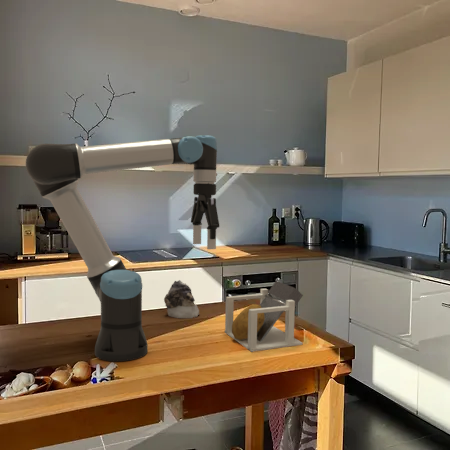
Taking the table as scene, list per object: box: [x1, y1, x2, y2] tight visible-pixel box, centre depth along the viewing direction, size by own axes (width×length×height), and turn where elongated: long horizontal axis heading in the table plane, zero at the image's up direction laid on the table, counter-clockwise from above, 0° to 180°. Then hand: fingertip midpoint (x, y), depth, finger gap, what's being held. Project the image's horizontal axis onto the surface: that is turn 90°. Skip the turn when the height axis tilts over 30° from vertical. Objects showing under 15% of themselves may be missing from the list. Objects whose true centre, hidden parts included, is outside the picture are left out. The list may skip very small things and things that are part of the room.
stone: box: [163, 279, 200, 319], centre depth 179 cm, size 14×10×15 cm
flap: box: [257, 280, 304, 342], centre depth 156 cm, size 20×14×4 cm
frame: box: [224, 288, 304, 353], centre depth 154 cm, size 18×20×14 cm
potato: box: [232, 303, 265, 340], centre depth 151 cm, size 9×13×7 cm
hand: (204, 246), depth 160 cm, fingers open, 13 cm apart
